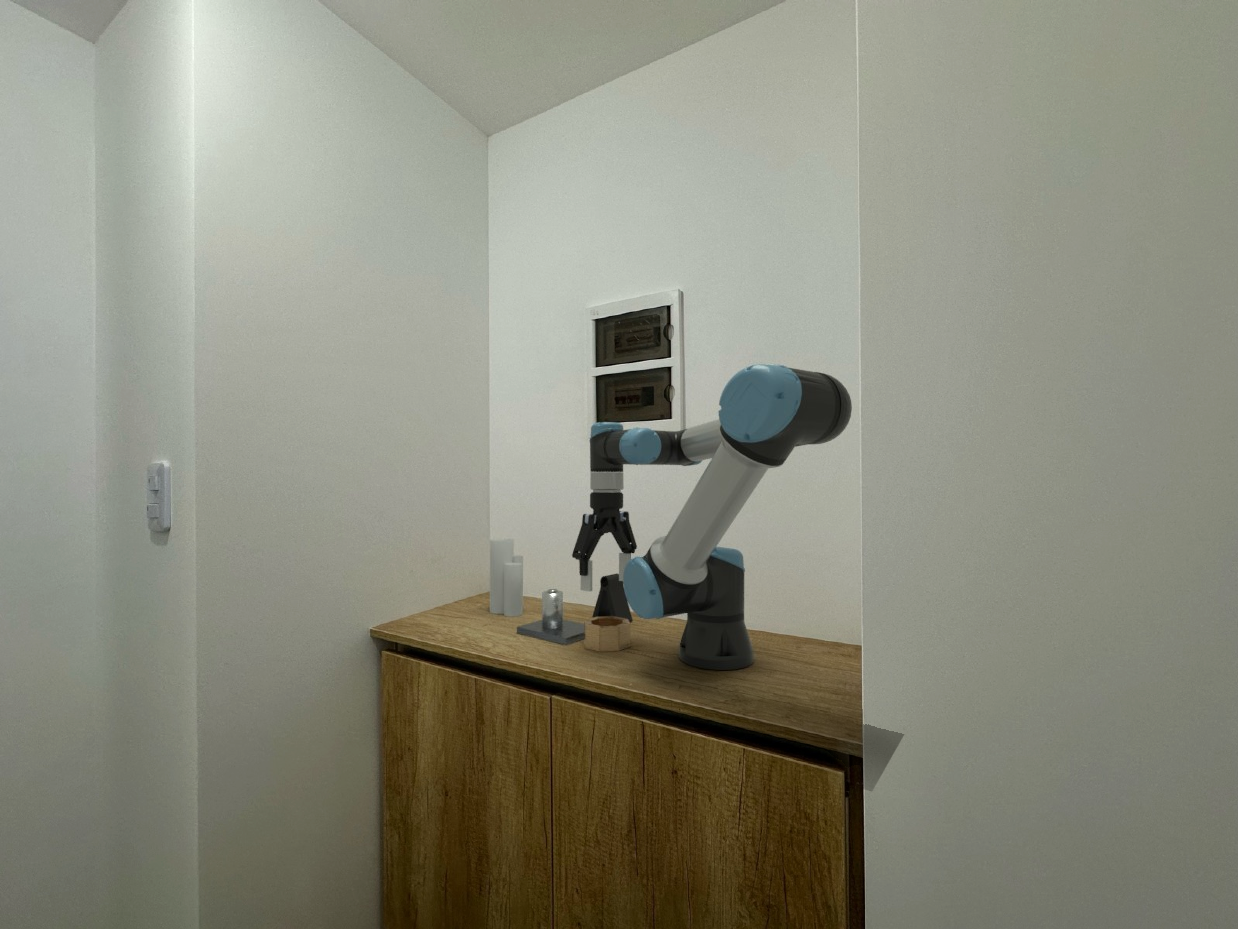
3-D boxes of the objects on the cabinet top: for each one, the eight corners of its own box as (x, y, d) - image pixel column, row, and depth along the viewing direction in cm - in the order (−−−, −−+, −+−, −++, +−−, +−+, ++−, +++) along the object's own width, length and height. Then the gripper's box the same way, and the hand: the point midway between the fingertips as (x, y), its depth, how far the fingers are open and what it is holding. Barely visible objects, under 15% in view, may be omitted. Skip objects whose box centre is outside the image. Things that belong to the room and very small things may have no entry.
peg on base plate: (599, 633, 134) (599, 591, 134) (565, 645, 124) (565, 599, 124) (552, 623, 143) (552, 583, 144) (517, 633, 134) (517, 591, 134)
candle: (484, 612, 155) (484, 540, 156) (503, 607, 161) (503, 538, 162) (513, 617, 149) (514, 542, 150) (532, 612, 155) (532, 540, 156)
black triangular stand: (591, 620, 146) (591, 574, 146) (606, 616, 151) (606, 571, 151) (617, 626, 140) (617, 578, 140) (632, 621, 145) (632, 575, 145)
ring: (638, 643, 125) (638, 620, 126) (610, 654, 118) (610, 630, 118) (603, 635, 132) (603, 614, 132) (575, 645, 124) (575, 623, 124)
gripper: (626, 489, 138) (626, 575, 137) (556, 492, 118) (555, 592, 118) (651, 490, 133) (651, 579, 133) (582, 492, 113) (582, 597, 113)
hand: (606, 585), depth 125 cm, fingers open, 13 cm apart
